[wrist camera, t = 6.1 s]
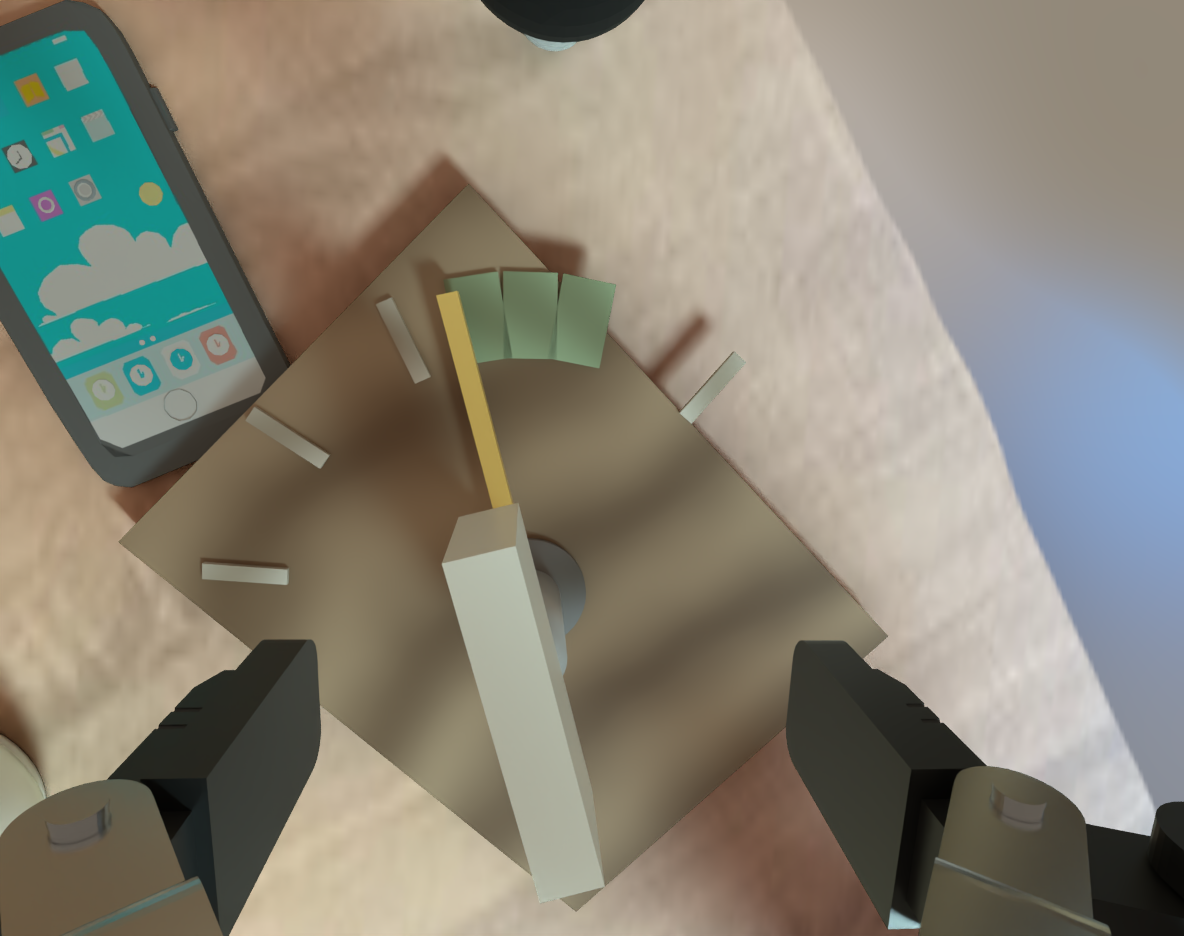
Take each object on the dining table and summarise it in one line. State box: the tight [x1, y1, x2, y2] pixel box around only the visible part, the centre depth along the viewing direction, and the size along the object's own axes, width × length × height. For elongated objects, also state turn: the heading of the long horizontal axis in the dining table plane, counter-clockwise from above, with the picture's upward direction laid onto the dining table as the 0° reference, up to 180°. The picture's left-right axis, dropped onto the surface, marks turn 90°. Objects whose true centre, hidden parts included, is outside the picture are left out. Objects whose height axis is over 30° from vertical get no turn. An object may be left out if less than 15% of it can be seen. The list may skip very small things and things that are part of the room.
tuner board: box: [119, 184, 888, 911], centre depth 27 cm, size 24×21×2 cm
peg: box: [436, 291, 605, 904], centre depth 21 cm, size 16×2×9 cm, turn 12°
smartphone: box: [0, 0, 291, 487], centre depth 24 cm, size 9×1×15 cm
